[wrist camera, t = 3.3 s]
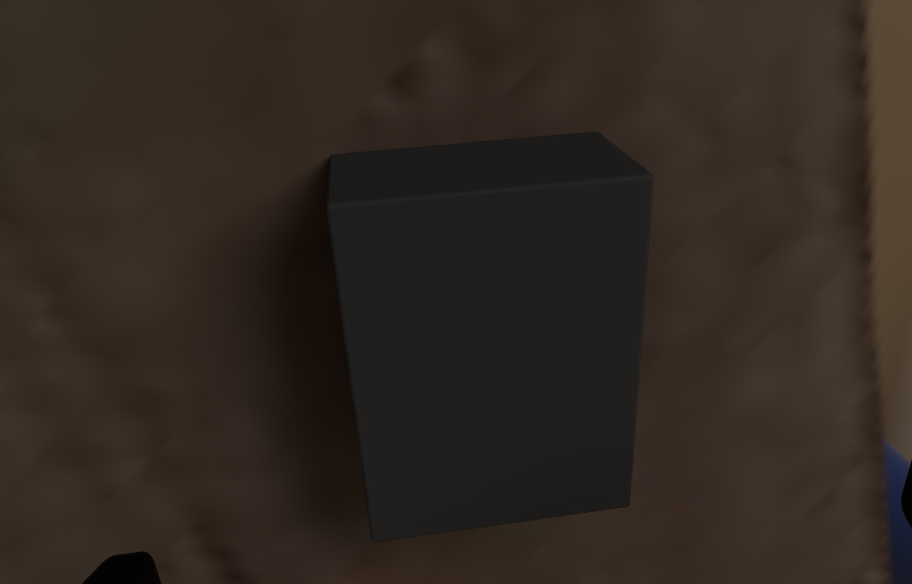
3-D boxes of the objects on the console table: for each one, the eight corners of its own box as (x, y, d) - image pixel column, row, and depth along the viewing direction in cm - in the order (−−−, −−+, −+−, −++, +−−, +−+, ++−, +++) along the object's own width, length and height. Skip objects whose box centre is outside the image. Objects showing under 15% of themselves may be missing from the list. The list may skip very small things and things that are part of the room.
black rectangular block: (328, 154, 12) (324, 205, 10) (598, 130, 12) (655, 174, 10) (367, 450, 14) (371, 544, 12) (588, 422, 15) (631, 508, 13)
